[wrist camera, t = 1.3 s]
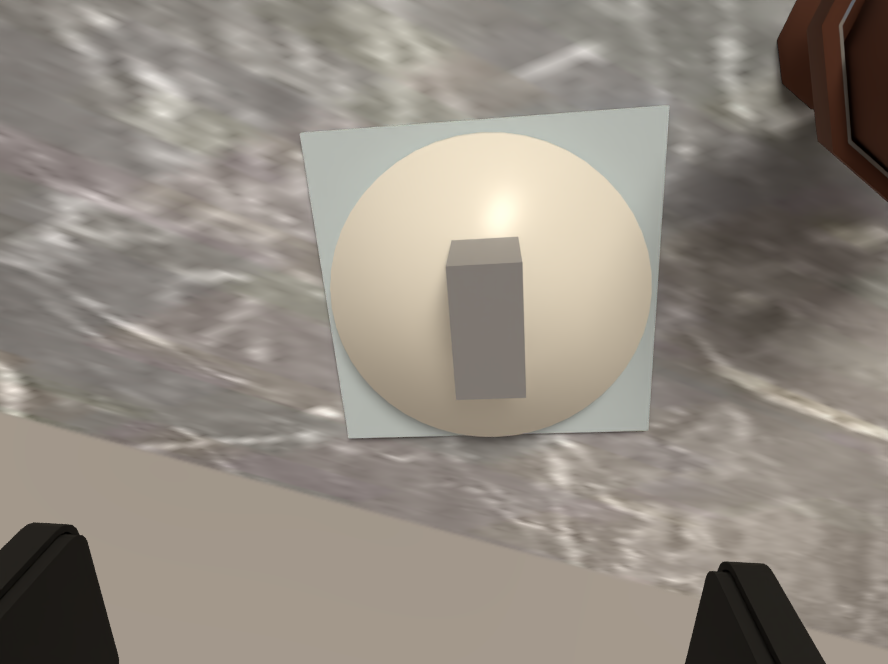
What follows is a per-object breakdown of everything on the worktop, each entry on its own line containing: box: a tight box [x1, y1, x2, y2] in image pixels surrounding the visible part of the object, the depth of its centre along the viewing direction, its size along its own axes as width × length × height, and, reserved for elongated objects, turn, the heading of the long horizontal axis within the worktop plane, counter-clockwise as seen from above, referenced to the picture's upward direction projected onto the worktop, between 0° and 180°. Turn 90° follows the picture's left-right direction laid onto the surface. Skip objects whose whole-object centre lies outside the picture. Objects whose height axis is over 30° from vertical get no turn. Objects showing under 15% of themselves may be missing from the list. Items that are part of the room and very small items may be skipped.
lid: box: [330, 132, 652, 437], centre depth 27 cm, size 15×15×5 cm
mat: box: [300, 105, 669, 438], centre depth 30 cm, size 16×16×1 cm
